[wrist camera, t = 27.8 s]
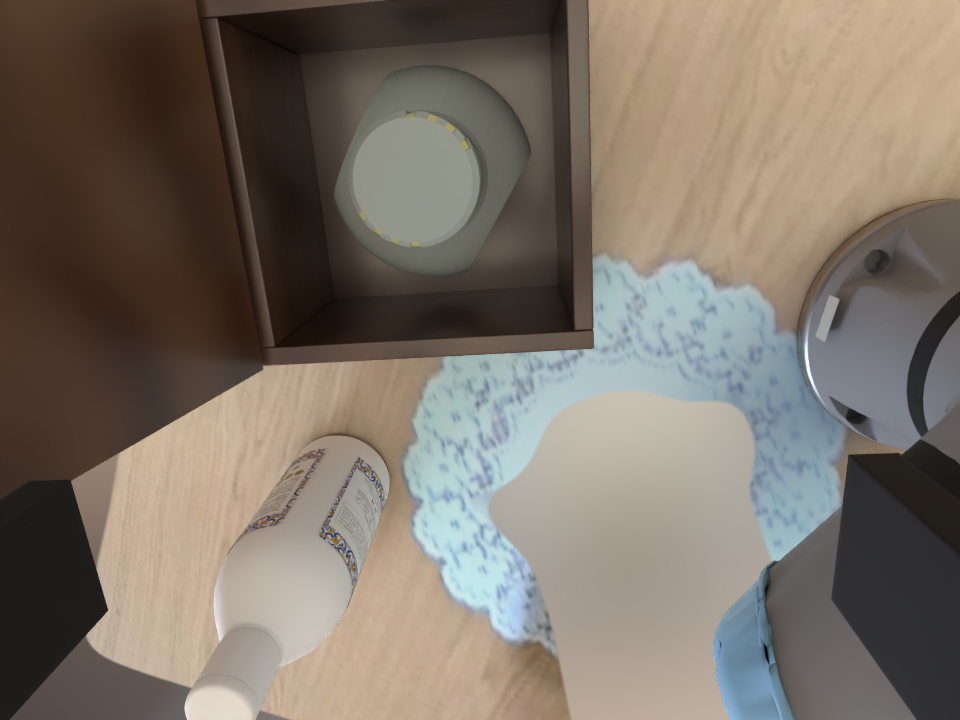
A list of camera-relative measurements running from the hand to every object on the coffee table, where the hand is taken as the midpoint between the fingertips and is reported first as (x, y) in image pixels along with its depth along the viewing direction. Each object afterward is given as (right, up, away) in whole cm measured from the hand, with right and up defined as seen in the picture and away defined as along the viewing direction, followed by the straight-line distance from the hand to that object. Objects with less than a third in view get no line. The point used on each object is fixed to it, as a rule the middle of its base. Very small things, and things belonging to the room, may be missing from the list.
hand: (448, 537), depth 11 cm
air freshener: (-2, +14, +27) cm, 30 cm away
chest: (-2, +14, +27) cm, 31 cm away
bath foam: (-9, -5, +34) cm, 36 cm away
